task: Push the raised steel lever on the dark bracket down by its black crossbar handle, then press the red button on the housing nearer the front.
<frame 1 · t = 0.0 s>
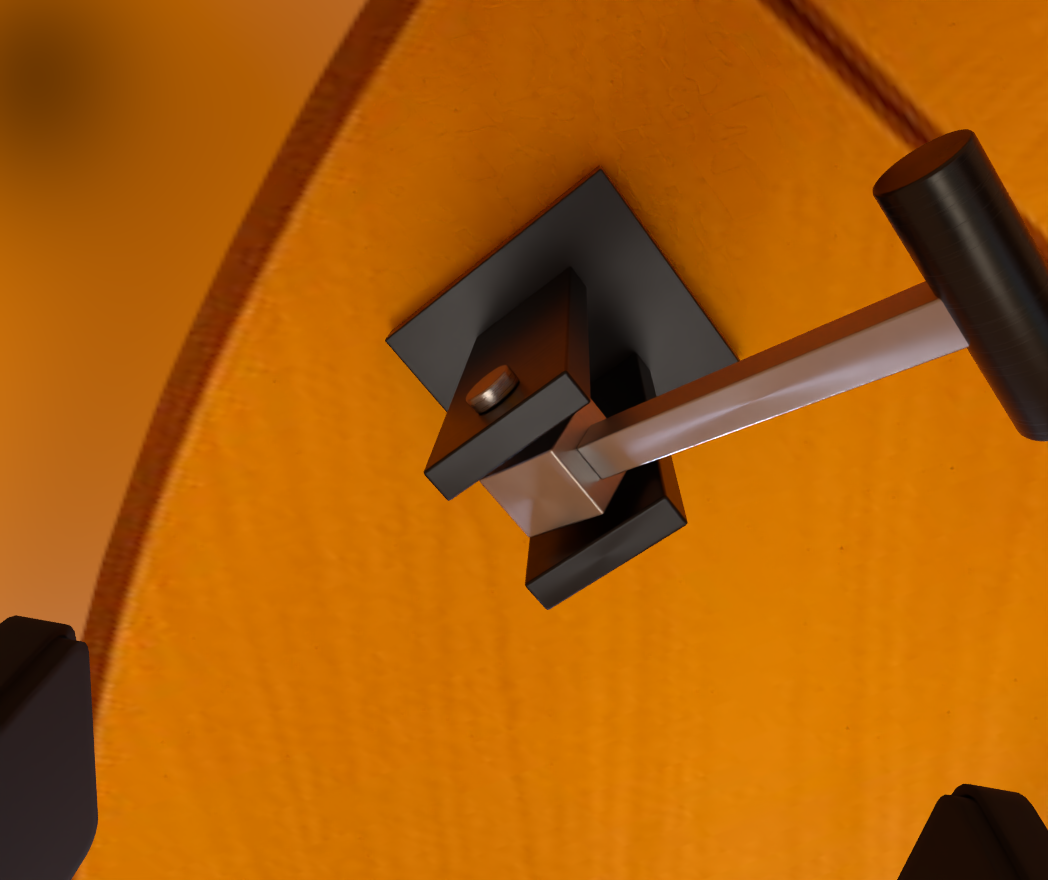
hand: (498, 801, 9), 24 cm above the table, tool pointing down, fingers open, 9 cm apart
bracket: (564, 344, 32), on the table
lever: (721, 402, 18), point 13 cm above the table, hinge at 28.0°
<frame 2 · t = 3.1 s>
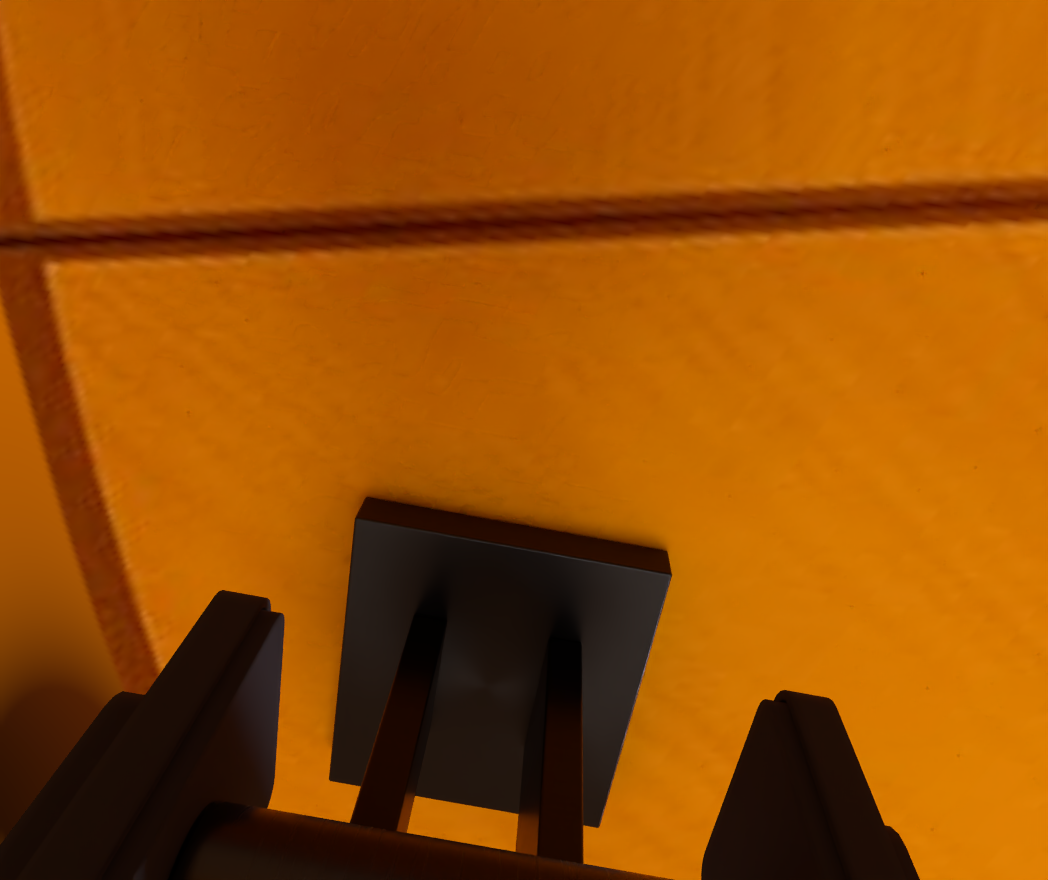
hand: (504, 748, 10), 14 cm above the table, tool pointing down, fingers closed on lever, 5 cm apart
bracket: (491, 658, 26), on the table
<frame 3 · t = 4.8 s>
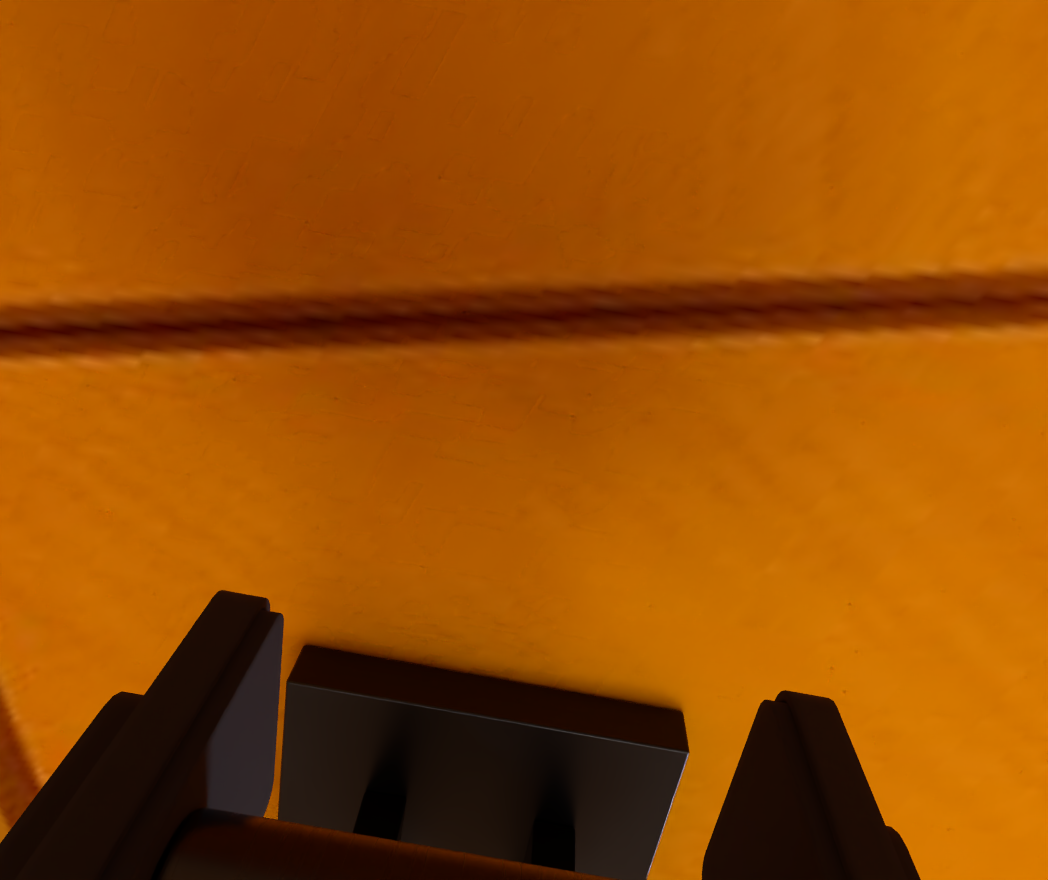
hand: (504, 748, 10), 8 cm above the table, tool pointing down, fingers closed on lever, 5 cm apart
bracket: (464, 827, 21), on the table
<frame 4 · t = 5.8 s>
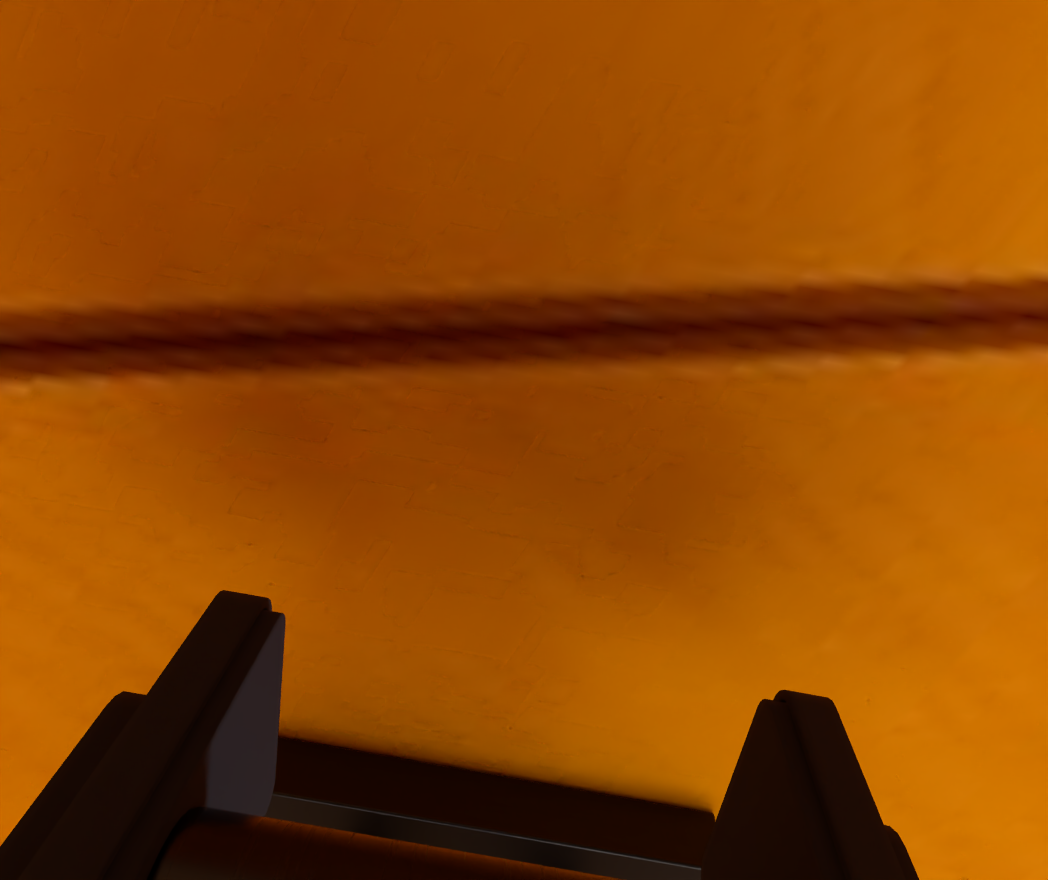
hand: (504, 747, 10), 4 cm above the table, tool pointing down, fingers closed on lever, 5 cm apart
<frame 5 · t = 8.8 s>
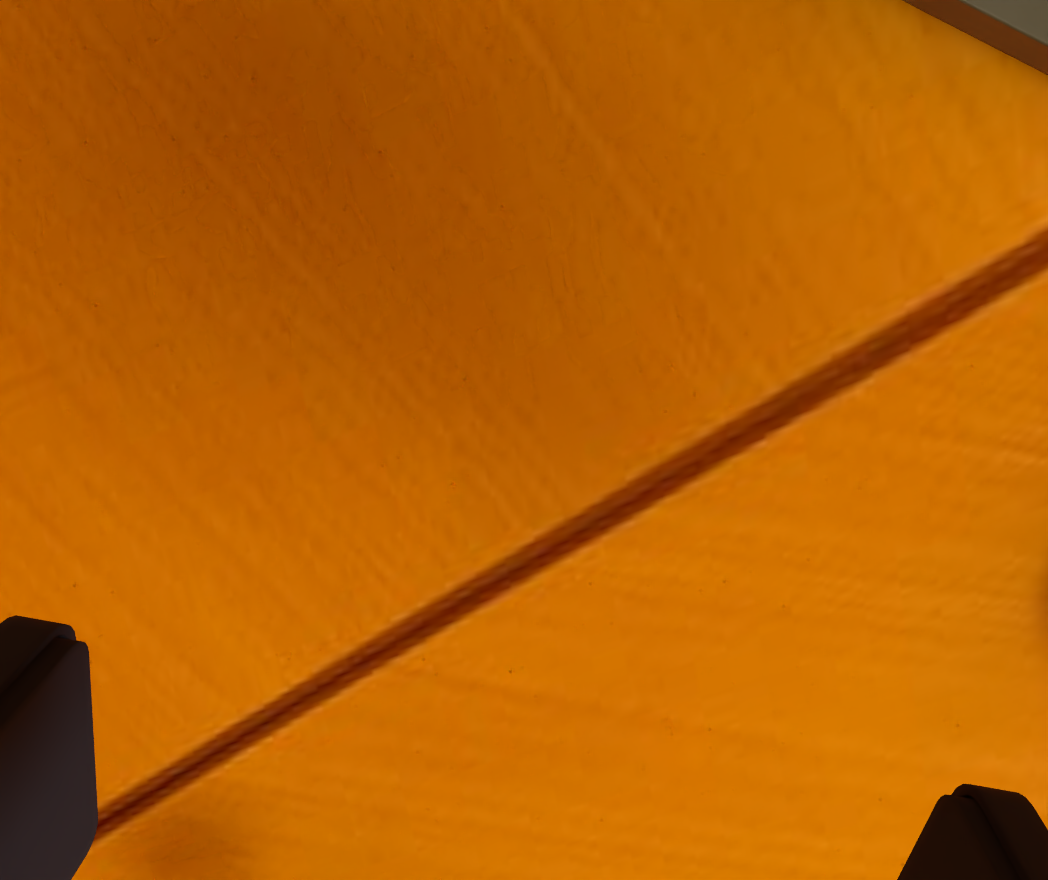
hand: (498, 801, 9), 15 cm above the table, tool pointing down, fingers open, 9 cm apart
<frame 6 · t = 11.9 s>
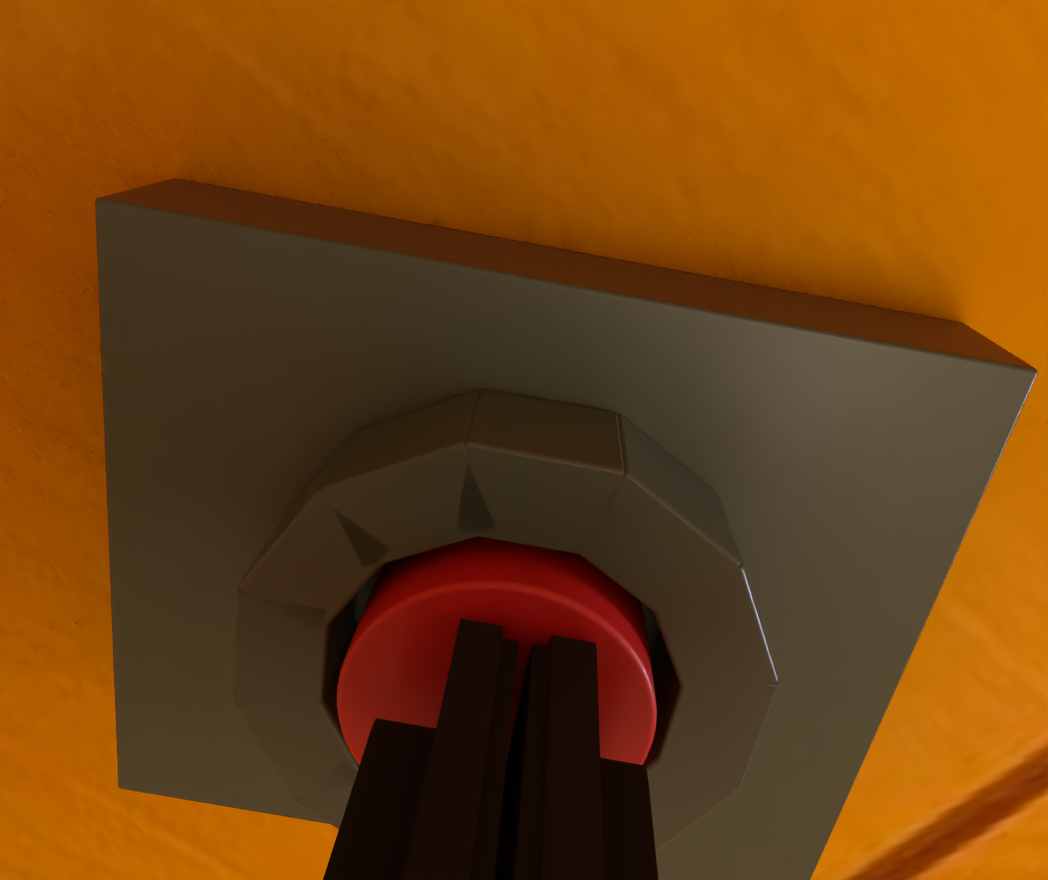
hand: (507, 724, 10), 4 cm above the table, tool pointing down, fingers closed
button: (500, 673, 11), point 4 cm above the table, slide at -0.8 cm, touching gripper
button box: (516, 537, 14), on the table
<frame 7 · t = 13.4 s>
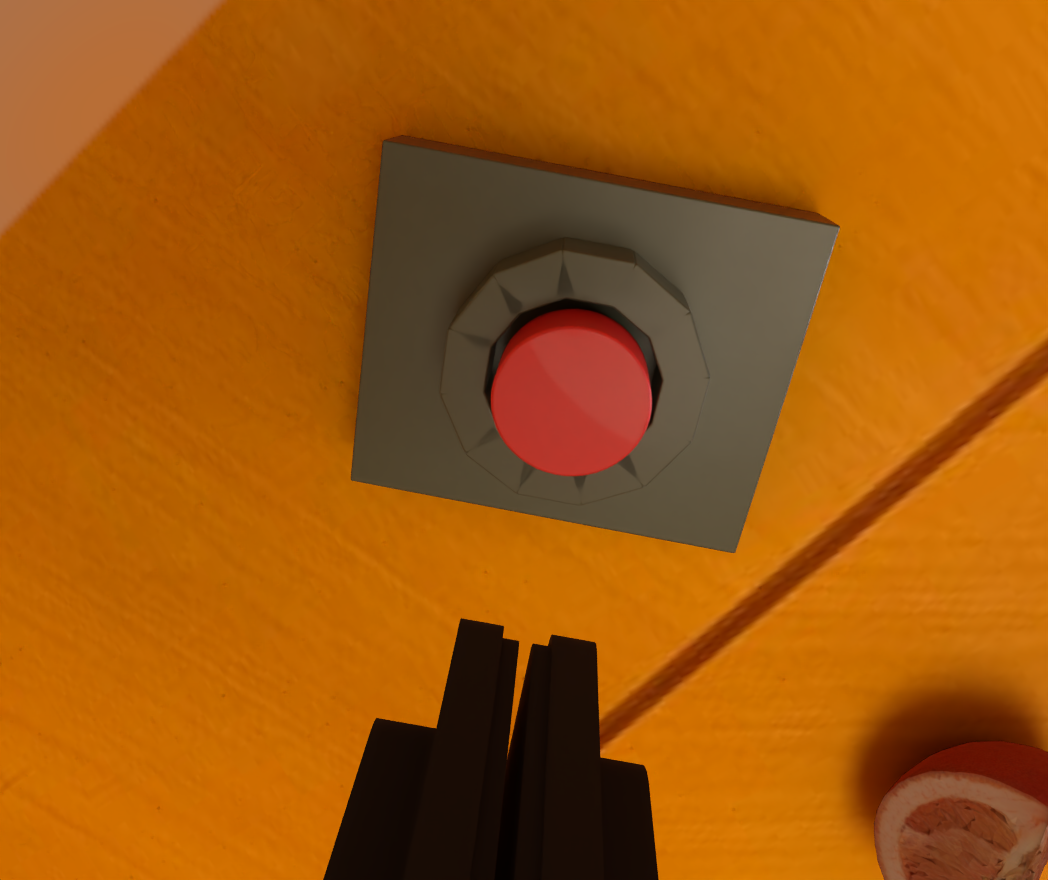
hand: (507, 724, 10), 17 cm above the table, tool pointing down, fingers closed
button: (571, 392, 21), point 4 cm above the table, slide at 0.1 cm
fruit slice: (948, 777, 31), on the table
button box: (575, 342, 25), on the table
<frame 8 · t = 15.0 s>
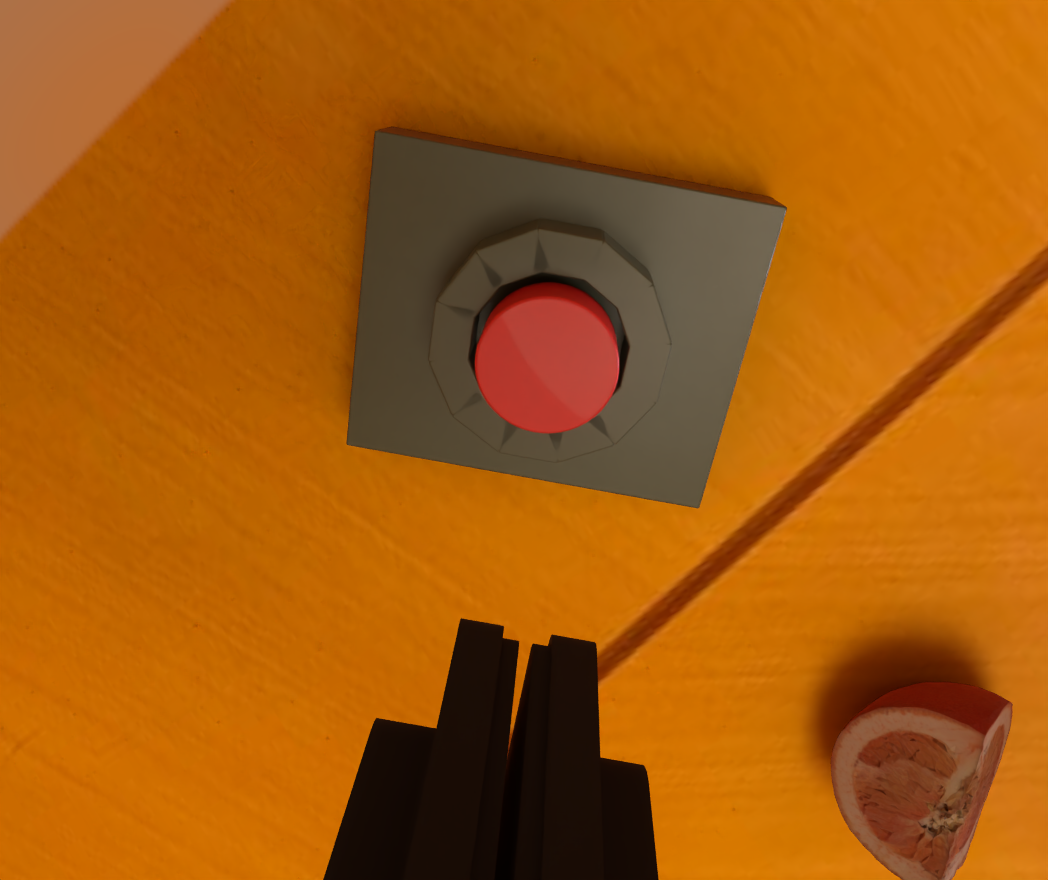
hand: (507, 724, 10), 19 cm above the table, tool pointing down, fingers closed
button: (547, 358, 24), point 4 cm above the table, slide at 0.1 cm
fruit slice: (900, 720, 34), on the table
button box: (552, 316, 28), on the table
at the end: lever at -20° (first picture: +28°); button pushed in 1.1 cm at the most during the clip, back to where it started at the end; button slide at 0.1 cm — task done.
